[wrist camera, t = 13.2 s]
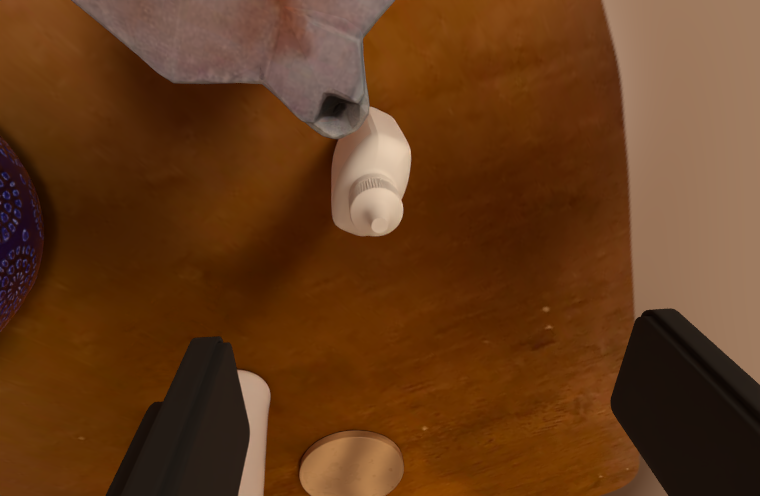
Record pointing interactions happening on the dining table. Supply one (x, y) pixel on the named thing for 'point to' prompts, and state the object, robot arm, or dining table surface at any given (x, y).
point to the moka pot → (257, 48)
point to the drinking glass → (255, 432)
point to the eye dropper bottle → (370, 177)
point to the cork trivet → (352, 465)
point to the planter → (17, 233)
